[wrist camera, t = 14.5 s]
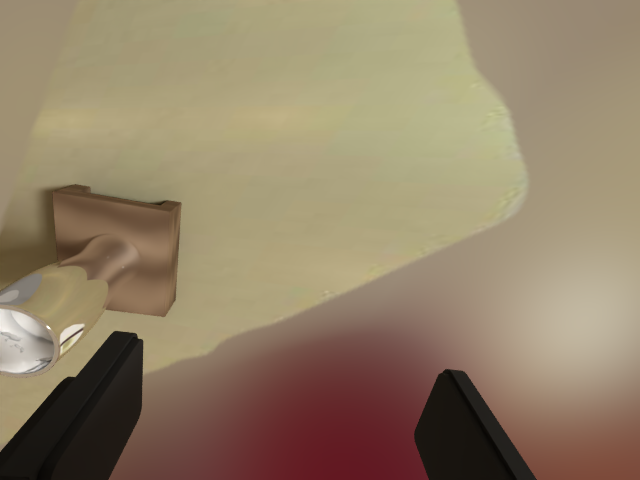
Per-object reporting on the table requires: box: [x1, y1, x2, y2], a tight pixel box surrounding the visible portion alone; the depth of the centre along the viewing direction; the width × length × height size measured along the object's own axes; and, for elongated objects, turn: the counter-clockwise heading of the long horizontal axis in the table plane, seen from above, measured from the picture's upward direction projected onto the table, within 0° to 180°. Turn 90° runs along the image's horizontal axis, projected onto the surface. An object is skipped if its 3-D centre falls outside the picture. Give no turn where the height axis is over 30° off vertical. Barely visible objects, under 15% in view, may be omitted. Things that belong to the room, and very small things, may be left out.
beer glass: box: [0, 235, 141, 378], centre depth 31 cm, size 7×7×15 cm
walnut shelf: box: [52, 184, 181, 317], centre depth 40 cm, size 14×12×4 cm
